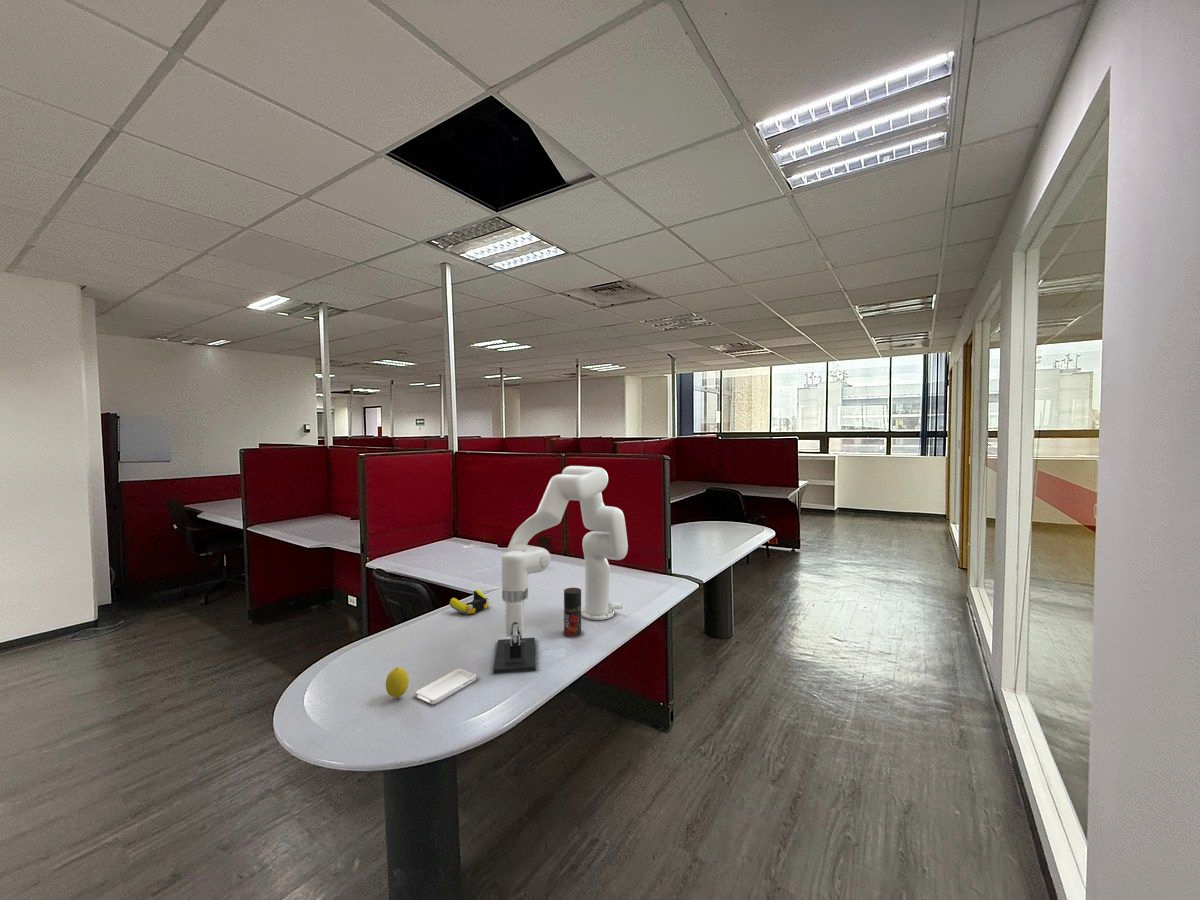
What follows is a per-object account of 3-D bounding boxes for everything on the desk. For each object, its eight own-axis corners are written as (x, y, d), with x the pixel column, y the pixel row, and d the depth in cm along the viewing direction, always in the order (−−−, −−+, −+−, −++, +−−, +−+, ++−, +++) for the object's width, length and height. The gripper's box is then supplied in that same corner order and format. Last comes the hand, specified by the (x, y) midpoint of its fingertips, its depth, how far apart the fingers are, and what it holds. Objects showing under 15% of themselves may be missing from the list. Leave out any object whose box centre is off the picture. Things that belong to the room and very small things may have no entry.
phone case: (459, 672, 138) (414, 697, 125) (459, 667, 138) (414, 691, 125) (477, 679, 134) (433, 705, 121) (477, 674, 134) (433, 700, 121)
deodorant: (583, 631, 166) (583, 588, 166) (577, 638, 161) (577, 594, 160) (568, 628, 168) (568, 586, 168) (561, 635, 163) (561, 592, 162)
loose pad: (535, 653, 149) (534, 631, 149) (535, 670, 139) (535, 646, 139) (495, 656, 148) (495, 633, 147) (493, 673, 137) (493, 649, 137)
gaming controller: (447, 612, 183) (464, 618, 178) (447, 598, 183) (464, 603, 177) (477, 601, 196) (494, 606, 190) (477, 588, 196) (494, 592, 190)
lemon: (390, 692, 127) (389, 663, 127) (411, 691, 128) (411, 662, 127) (382, 704, 122) (382, 673, 121) (405, 703, 122) (404, 672, 122)
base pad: (534, 640, 159) (534, 637, 159) (535, 657, 147) (535, 653, 147) (498, 643, 157) (498, 639, 157) (495, 660, 145) (495, 656, 145)
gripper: (503, 584, 149) (504, 638, 150) (500, 605, 132) (501, 665, 133) (528, 583, 150) (528, 636, 151) (528, 603, 133) (528, 663, 134)
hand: (516, 650), depth 142 cm, fingers open, 9 cm apart
